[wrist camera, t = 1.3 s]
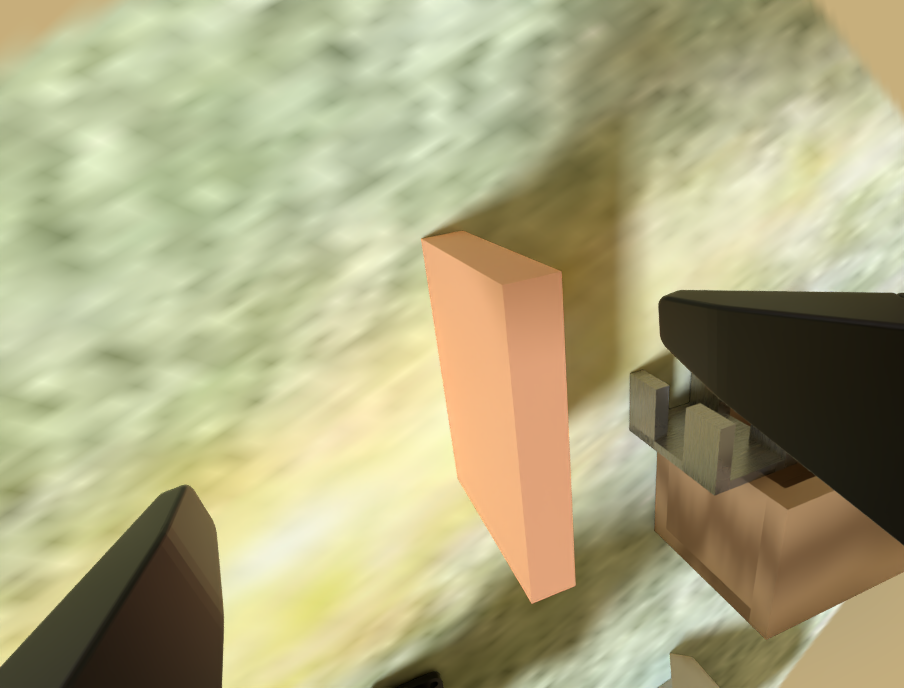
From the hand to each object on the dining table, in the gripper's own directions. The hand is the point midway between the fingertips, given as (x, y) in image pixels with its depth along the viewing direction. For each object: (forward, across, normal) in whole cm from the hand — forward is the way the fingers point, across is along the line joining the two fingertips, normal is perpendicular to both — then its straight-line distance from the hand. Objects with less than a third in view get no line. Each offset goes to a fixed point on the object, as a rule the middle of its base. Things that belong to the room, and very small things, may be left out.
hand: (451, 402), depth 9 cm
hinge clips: (+12, -14, +12) cm, 22 cm away
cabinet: (+12, -20, +19) cm, 30 cm away
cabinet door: (+12, -3, +6) cm, 14 cm away
